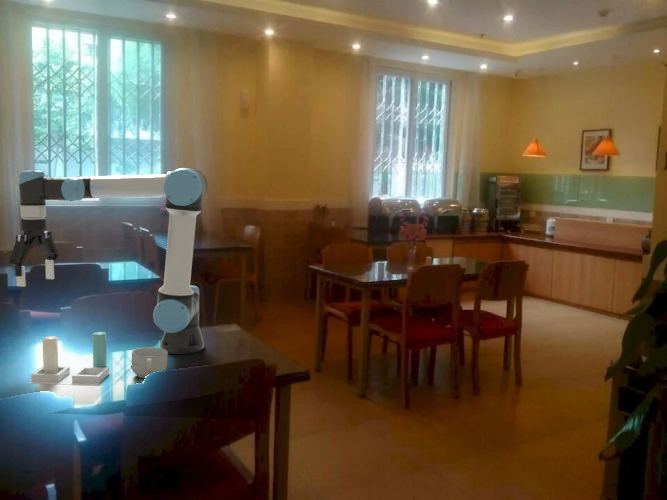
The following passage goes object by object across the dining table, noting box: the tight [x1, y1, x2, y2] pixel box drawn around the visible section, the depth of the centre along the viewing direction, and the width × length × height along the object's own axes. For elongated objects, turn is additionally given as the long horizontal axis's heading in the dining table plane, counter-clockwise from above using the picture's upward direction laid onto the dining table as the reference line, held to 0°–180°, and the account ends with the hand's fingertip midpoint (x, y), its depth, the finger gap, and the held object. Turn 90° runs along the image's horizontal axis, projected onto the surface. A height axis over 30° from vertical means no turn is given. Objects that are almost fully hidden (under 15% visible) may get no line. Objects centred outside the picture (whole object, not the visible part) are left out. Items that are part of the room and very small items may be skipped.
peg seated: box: [42, 336, 59, 374], centre depth 184 cm, size 4×4×12 cm
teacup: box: [130, 346, 169, 379], centre depth 190 cm, size 14×11×8 cm
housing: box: [28, 365, 112, 387], centre depth 185 cm, size 20×12×3 cm, turn 90°
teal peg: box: [92, 331, 108, 368], centre depth 194 cm, size 4×4×12 cm
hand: (36, 282), depth 202 cm, fingers open, 13 cm apart
